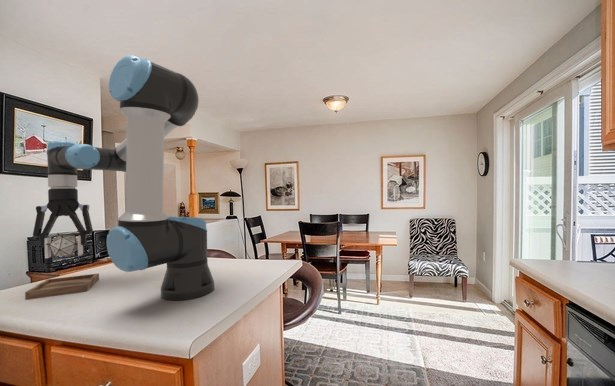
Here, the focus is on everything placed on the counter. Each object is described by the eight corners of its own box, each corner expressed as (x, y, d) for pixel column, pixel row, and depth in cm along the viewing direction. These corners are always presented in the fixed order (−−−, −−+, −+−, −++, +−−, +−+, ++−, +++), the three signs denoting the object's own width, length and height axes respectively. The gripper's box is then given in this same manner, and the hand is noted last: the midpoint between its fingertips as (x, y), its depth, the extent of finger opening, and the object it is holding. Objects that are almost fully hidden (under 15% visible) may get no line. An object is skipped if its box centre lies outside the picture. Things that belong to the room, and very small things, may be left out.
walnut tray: (86, 291, 92) (86, 284, 92) (25, 299, 86) (25, 292, 86) (99, 279, 106) (98, 273, 106) (47, 285, 100) (46, 279, 100)
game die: (64, 269, 95) (57, 248, 89) (44, 258, 96) (36, 237, 90) (90, 252, 102) (85, 232, 97) (70, 242, 103) (65, 222, 98)
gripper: (103, 188, 104) (104, 251, 104) (28, 188, 95) (29, 257, 95) (97, 187, 97) (99, 254, 97) (16, 188, 89) (17, 262, 89)
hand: (64, 256), depth 96 cm, fingers closed on game die, 8 cm apart
